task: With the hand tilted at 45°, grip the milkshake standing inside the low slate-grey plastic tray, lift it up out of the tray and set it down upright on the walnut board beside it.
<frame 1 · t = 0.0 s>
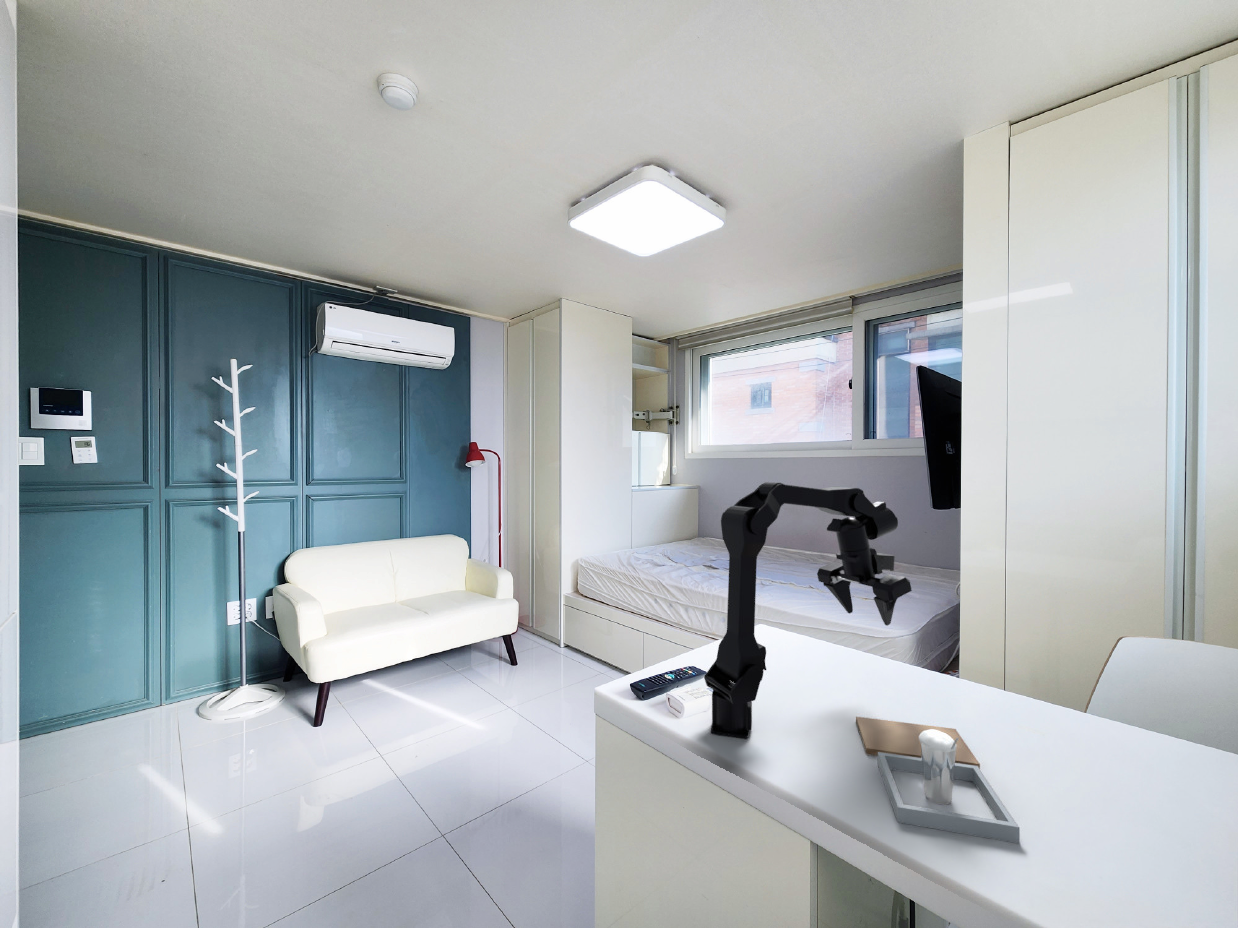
hand: (868, 618, 106), 15 cm above the table, tool pointing down, fingers open, 9 cm apart
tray: (940, 799, 72), on the table
board: (912, 743, 87), on the table
milkshake: (940, 800, 72), resting in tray
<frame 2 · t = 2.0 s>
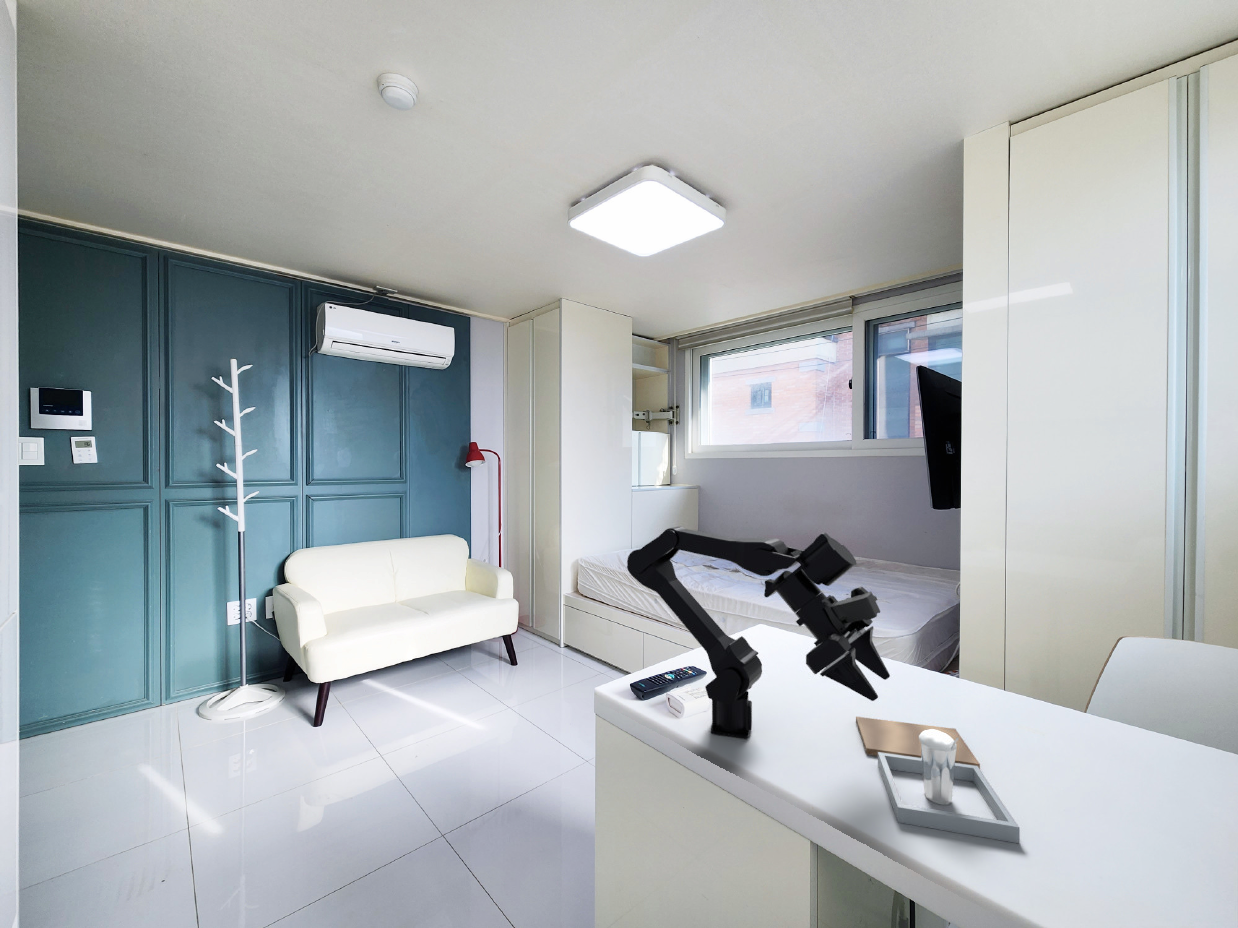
hand: (881, 688, 78), 13 cm above the table, tool tilted 45°, fingers open, 9 cm apart
nothing on the table moved.
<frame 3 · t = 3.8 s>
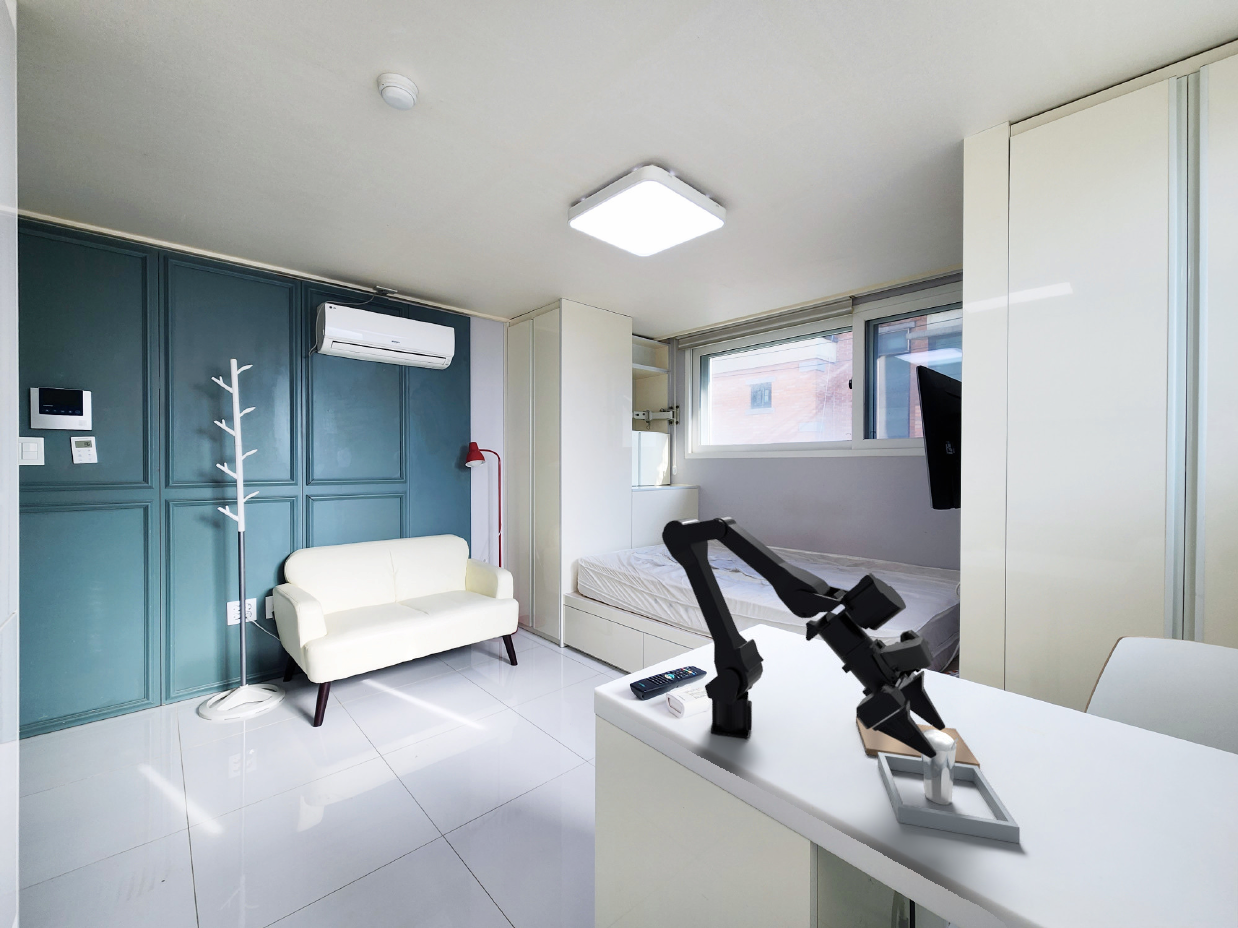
hand: (938, 741, 72), 8 cm above the table, tool tilted 45°, fingers open, 9 cm apart
nothing on the table moved.
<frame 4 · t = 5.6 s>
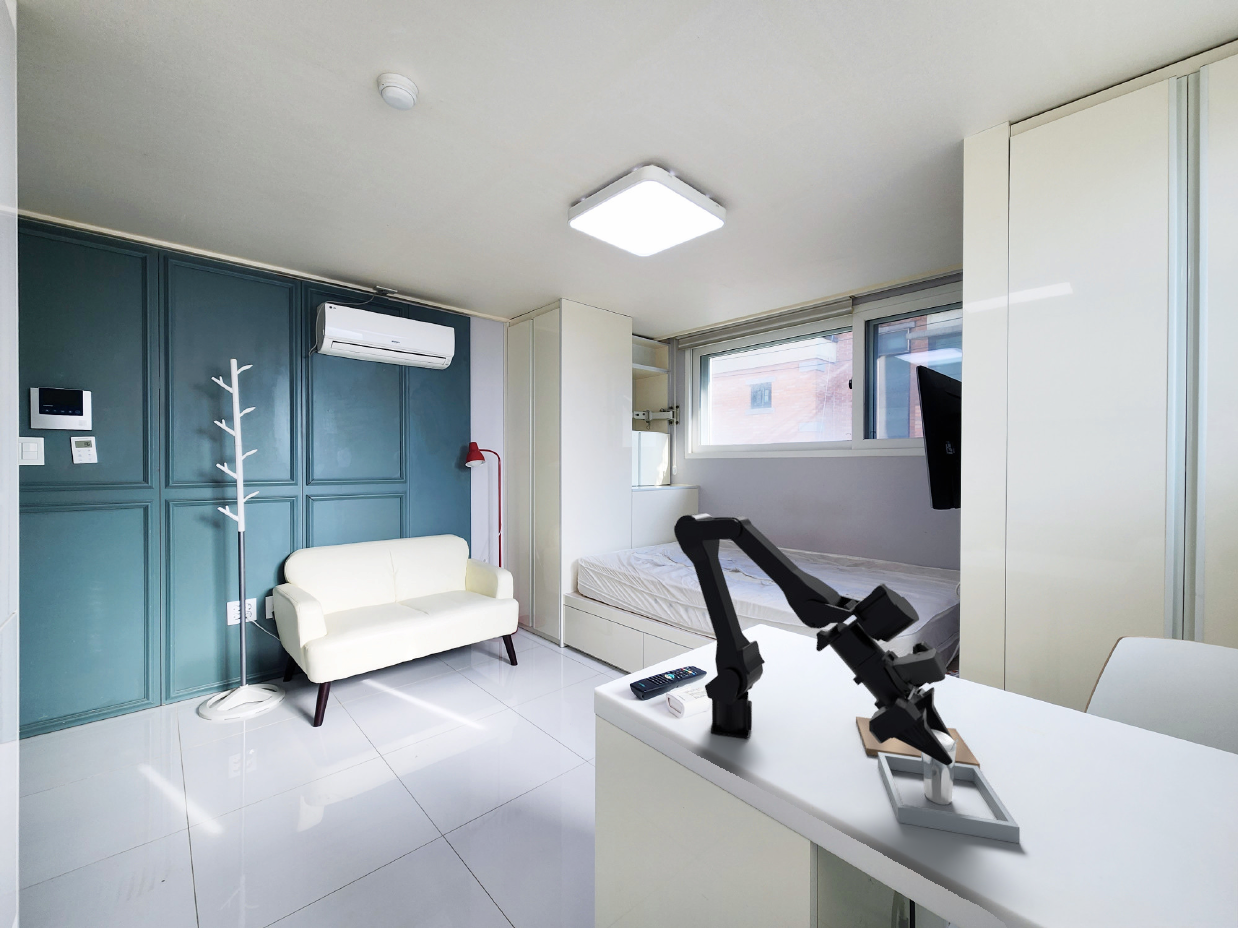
hand: (952, 755, 71), 7 cm above the table, tool tilted 45°, fingers closed on milkshake, 4 cm apart
milkshake: (940, 800, 72), resting in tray, touching gripper
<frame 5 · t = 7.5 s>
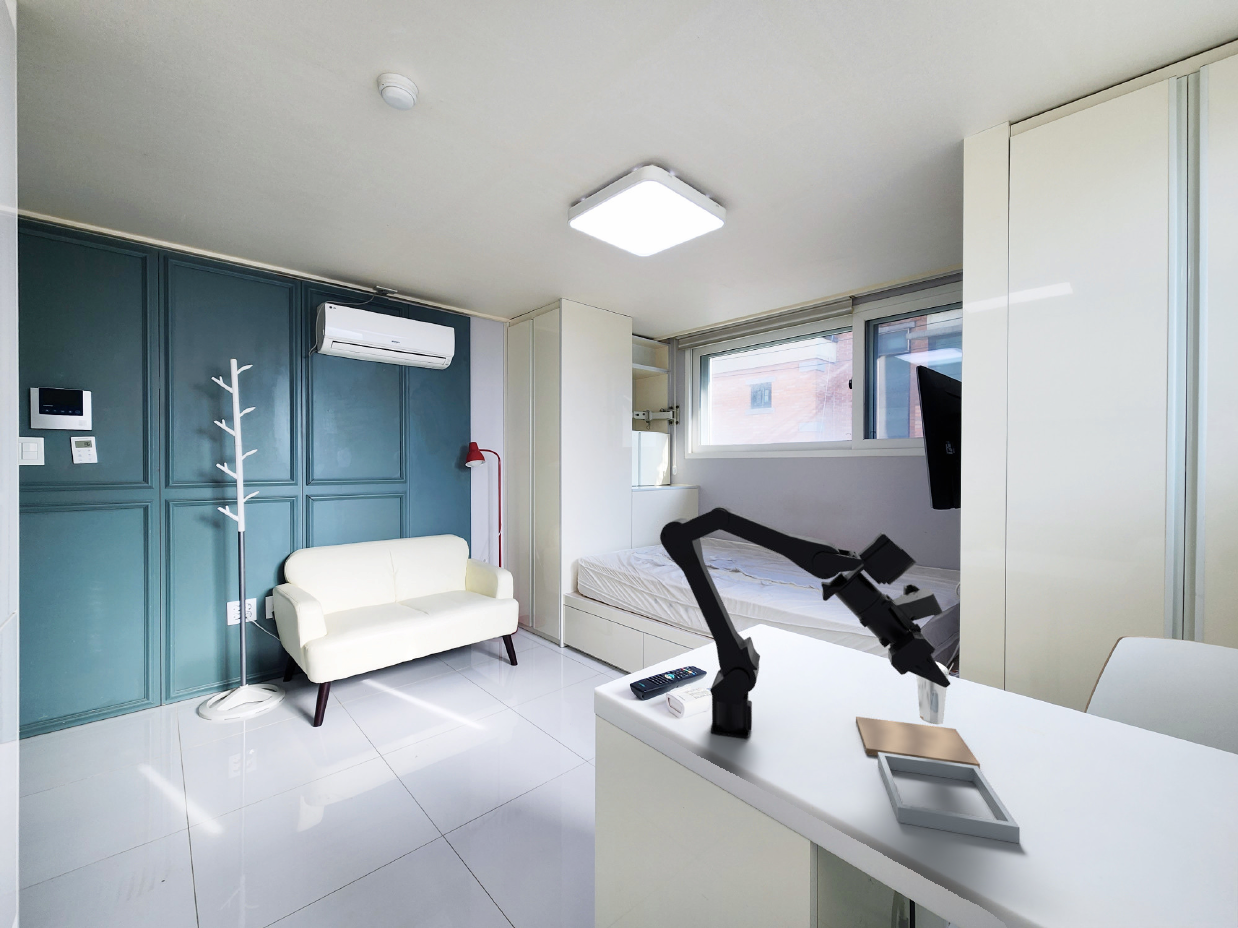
hand: (944, 679, 81), 13 cm above the table, tool tilted 45°, fingers closed on milkshake, 4 cm apart
milkshake: (934, 721, 81), point 6 cm above the table, touching gripper
when the fingers open (8 cm above the table, at t = 9.8 s): milkshake stays where it is, resting on board.
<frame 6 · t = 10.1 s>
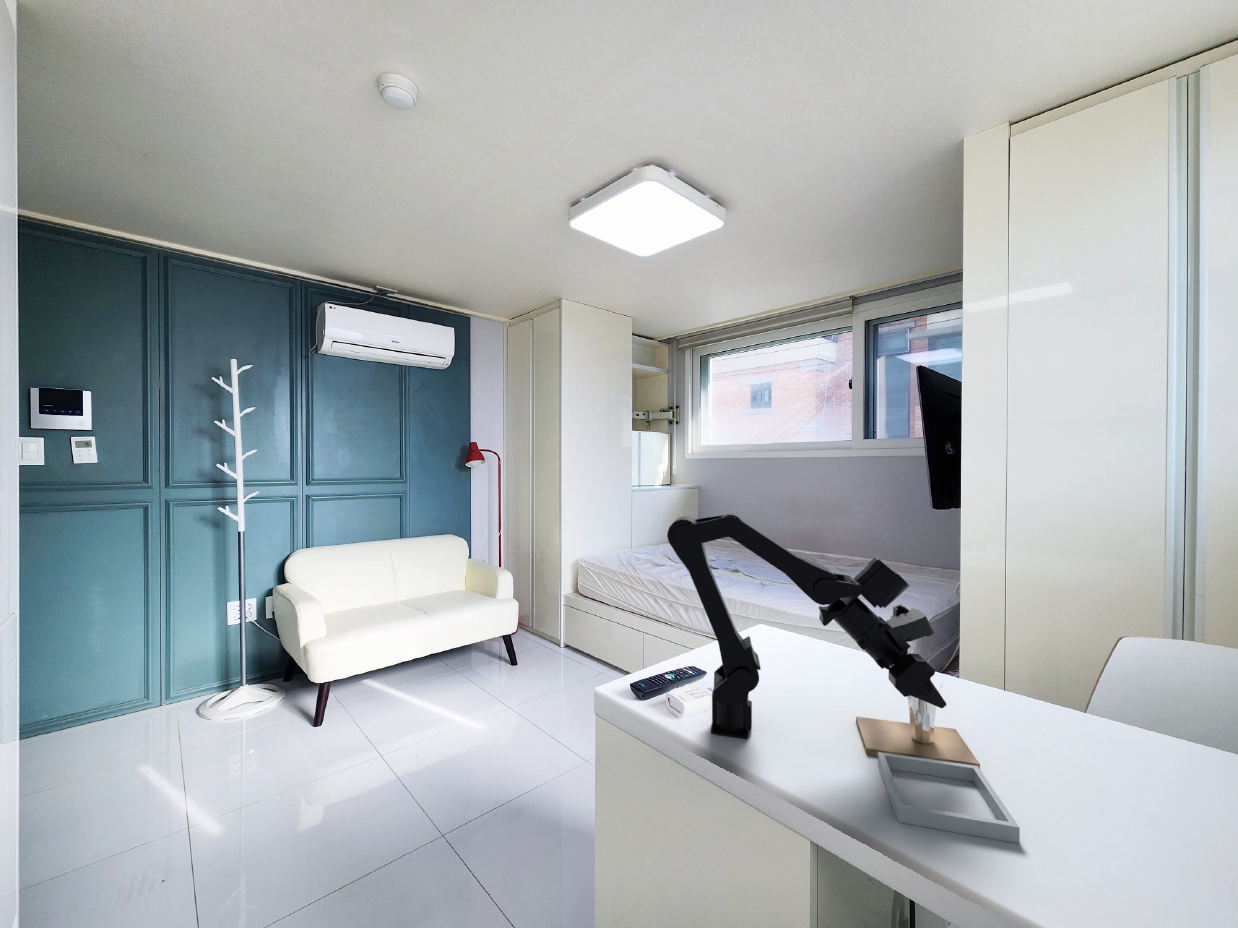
hand: (934, 695, 86), 9 cm above the table, tool tilted 45°, fingers open, 7 cm apart
milkshake: (924, 741, 86), point 1 cm above the table, touching board
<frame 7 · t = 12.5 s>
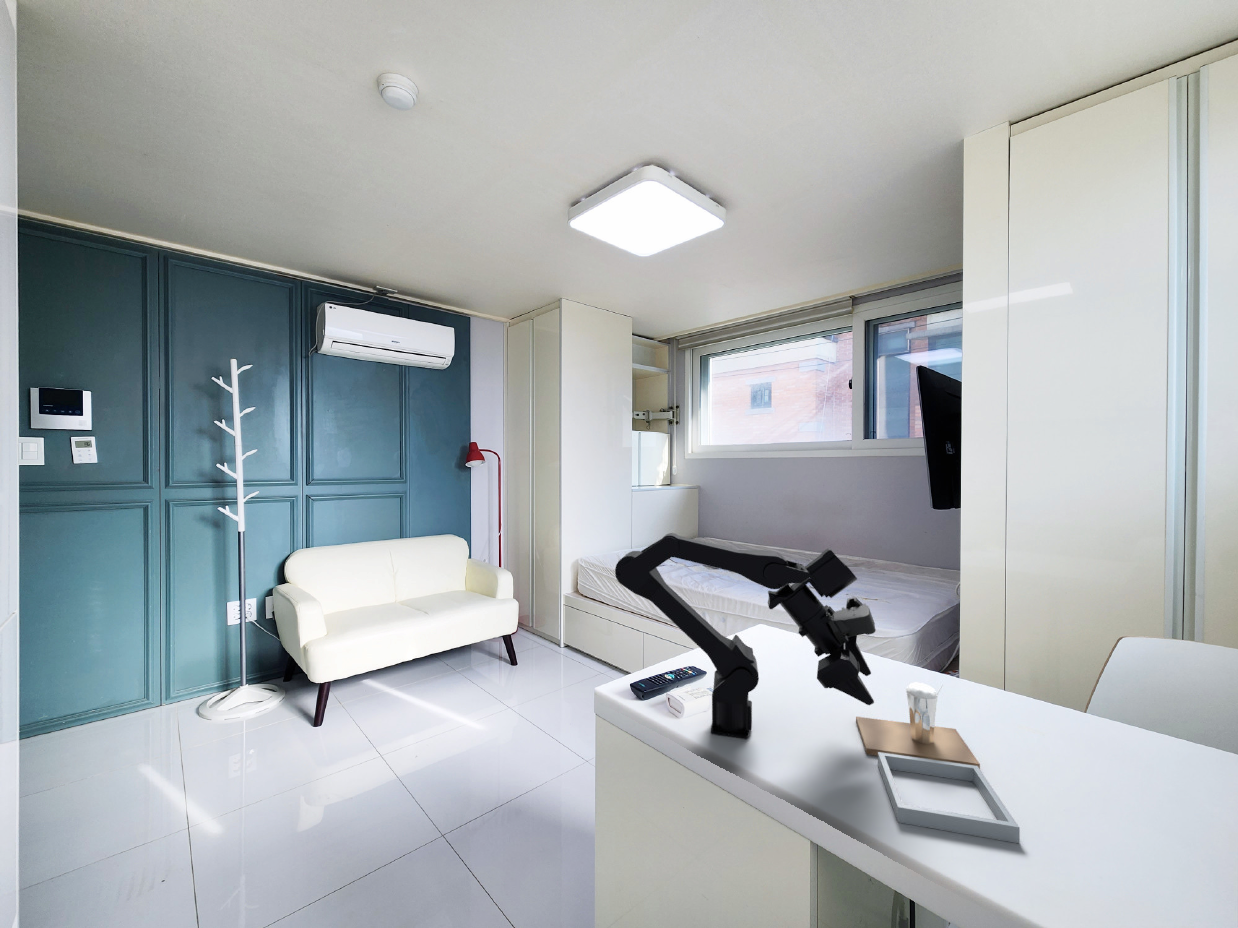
hand: (870, 688, 87), 9 cm above the table, tool tilted 40°, fingers open, 9 cm apart
nothing on the table moved.
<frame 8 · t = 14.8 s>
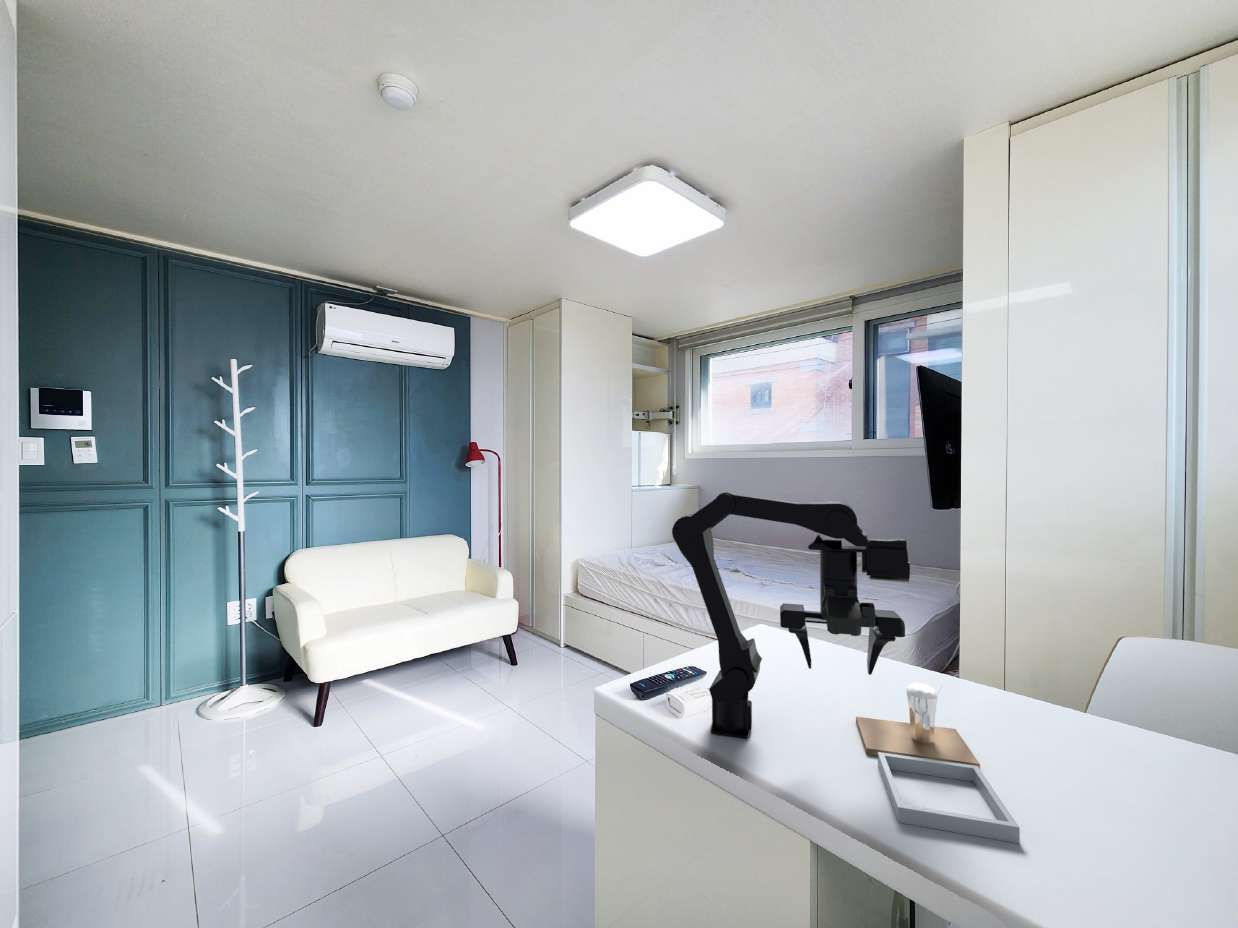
hand: (839, 670, 85), 13 cm above the table, tool pointing down, fingers open, 9 cm apart
nothing on the table moved.
at the end: milkshake inside the target area on the board (1.8 cm from its centre), point 0.8 cm above the board's base; milkshake tilted 0°; the gripper is holding nothing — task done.
